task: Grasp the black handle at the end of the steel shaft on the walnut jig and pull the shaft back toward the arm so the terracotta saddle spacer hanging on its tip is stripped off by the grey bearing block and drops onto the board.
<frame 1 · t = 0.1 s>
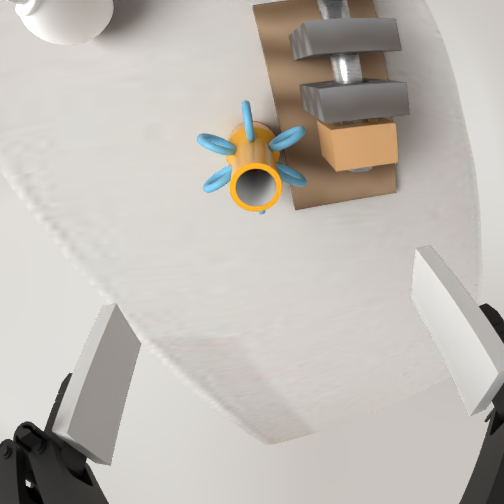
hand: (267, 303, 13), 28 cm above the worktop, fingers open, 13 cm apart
shaft: (345, 60, 24), point 7 cm above the worktop, slide at 0.0 cm, touching spacer
cylinder: (252, 144, 37), on the worktop
sauce bottle: (98, 18, 26), on the worktop
jig: (332, 99, 33), on the worktop
spacer: (347, 133, 31), point 4 cm above the worktop, touching shaft
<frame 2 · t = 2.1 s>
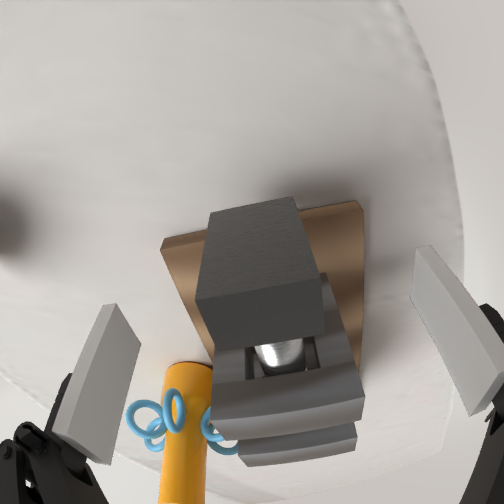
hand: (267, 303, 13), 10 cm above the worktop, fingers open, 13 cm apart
shaft: (287, 379, 20), point 7 cm above the worktop, slide at 0.0 cm, touching spacer
cylinder: (193, 375, 32), on the worktop
jig: (285, 340, 29), on the worktop
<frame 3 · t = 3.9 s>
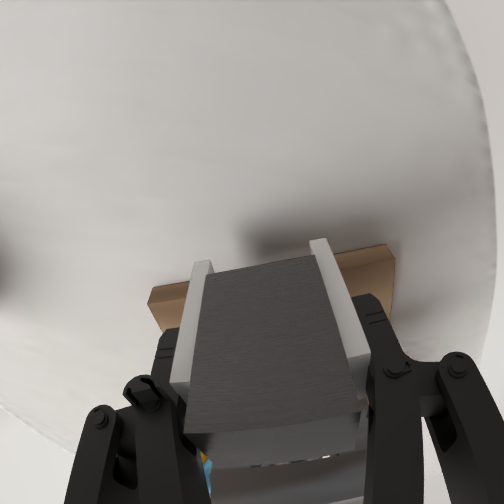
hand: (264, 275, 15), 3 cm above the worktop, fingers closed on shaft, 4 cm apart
shaft: (297, 449, 16), point 8 cm above the worktop, slide at 0.0 cm, touching gripper, spacer
jig: (294, 389, 24), on the worktop
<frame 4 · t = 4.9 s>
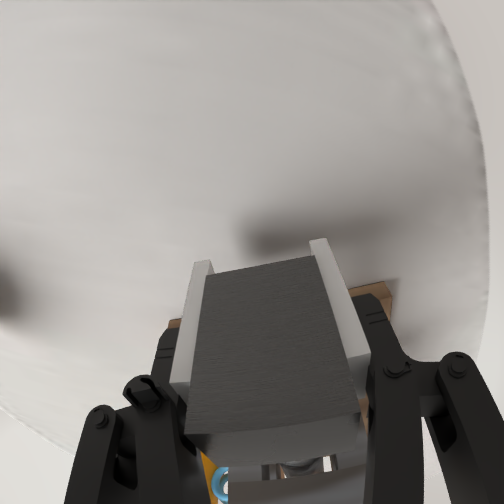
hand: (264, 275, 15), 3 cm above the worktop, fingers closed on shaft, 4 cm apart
shaft: (298, 449, 16), point 7 cm above the worktop, slide at 2.8 cm, touching gripper, spacer
cylinder: (201, 429, 29), on the worktop
jig: (297, 404, 26), on the worktop
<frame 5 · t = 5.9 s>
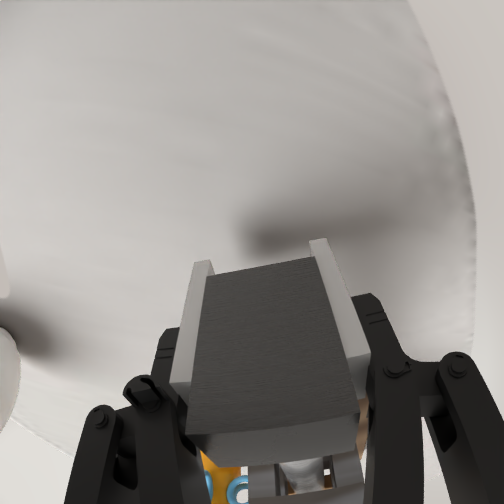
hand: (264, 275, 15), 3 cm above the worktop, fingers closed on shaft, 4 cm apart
shaft: (298, 449, 16), point 8 cm above the worktop, slide at 7.9 cm, touching gripper
cylinder: (215, 446, 32), on the worktop
sauce bottle: (5, 332, 22), on the worktop
jig: (302, 425, 29), on the worktop
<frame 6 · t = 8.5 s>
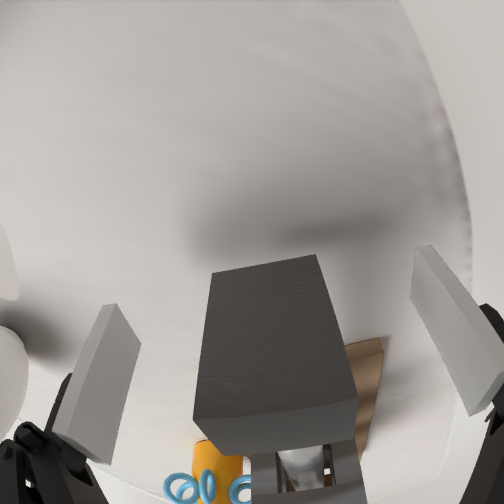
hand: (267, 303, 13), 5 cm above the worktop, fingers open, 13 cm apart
shaft: (299, 444, 16), point 7 cm above the worktop, slide at 8.4 cm
cylinder: (218, 446, 33), on the worktop
sauce bottle: (13, 334, 23), on the worktop
jig: (303, 426, 29), on the worktop
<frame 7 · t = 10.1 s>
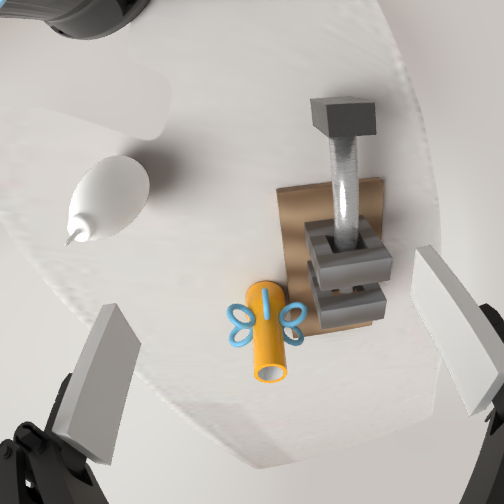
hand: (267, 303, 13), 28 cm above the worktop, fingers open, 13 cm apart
shaft: (345, 204, 32), point 8 cm above the worktop, slide at 8.4 cm
cylinder: (265, 294, 49), on the worktop
sauce bottle: (131, 174, 38), on the worktop
jig: (332, 265, 46), on the worktop
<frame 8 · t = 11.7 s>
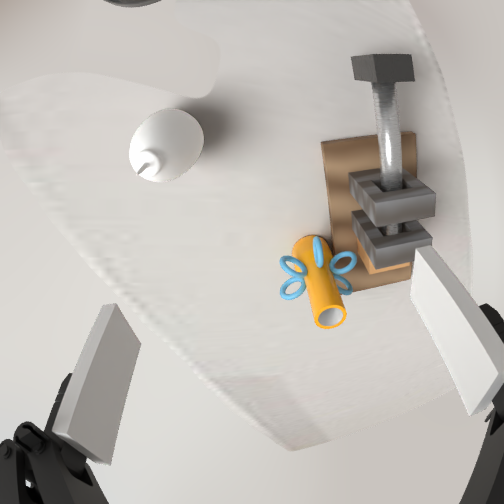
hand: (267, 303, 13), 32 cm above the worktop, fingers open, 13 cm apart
shaft: (390, 148, 33), point 7 cm above the worktop, slide at 8.4 cm
cylinder: (310, 250, 49), on the worktop
sauce bottle: (179, 132, 39), on the worktop
jig: (373, 217, 46), on the worktop
spacer: (376, 237, 46), point 1 cm above the worktop, touching jig
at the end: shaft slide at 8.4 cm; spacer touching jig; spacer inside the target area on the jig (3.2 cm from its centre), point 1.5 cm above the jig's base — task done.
